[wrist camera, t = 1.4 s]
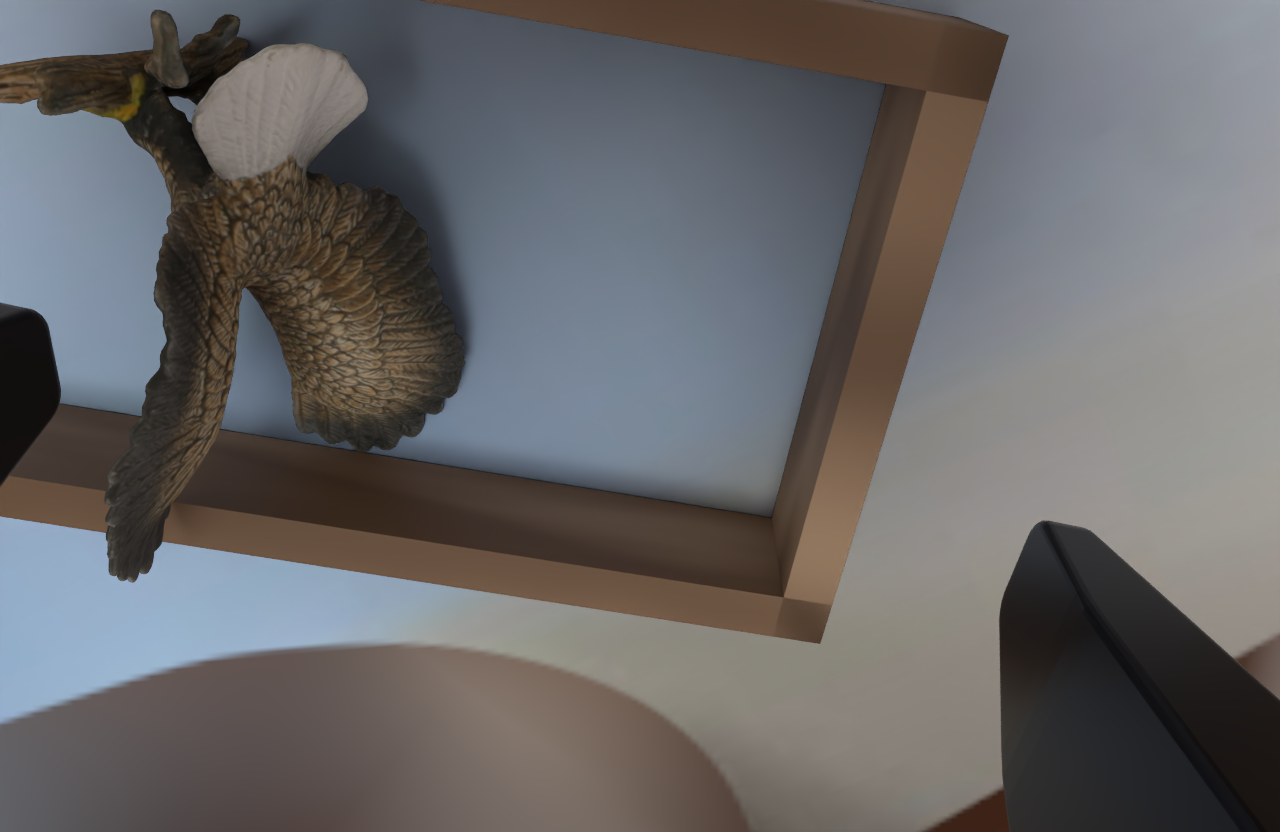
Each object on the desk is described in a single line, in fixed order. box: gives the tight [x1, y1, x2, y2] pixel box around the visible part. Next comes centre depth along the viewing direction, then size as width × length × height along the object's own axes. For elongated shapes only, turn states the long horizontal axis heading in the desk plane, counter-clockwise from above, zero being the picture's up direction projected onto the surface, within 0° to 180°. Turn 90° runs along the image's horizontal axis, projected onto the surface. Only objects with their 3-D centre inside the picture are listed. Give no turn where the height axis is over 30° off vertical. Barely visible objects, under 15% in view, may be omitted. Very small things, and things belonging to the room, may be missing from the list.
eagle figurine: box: [0, 10, 465, 582], centre depth 18 cm, size 8×7×9 cm
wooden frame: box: [0, 0, 1008, 644], centre depth 19 cm, size 12×18×3 cm, turn 81°
